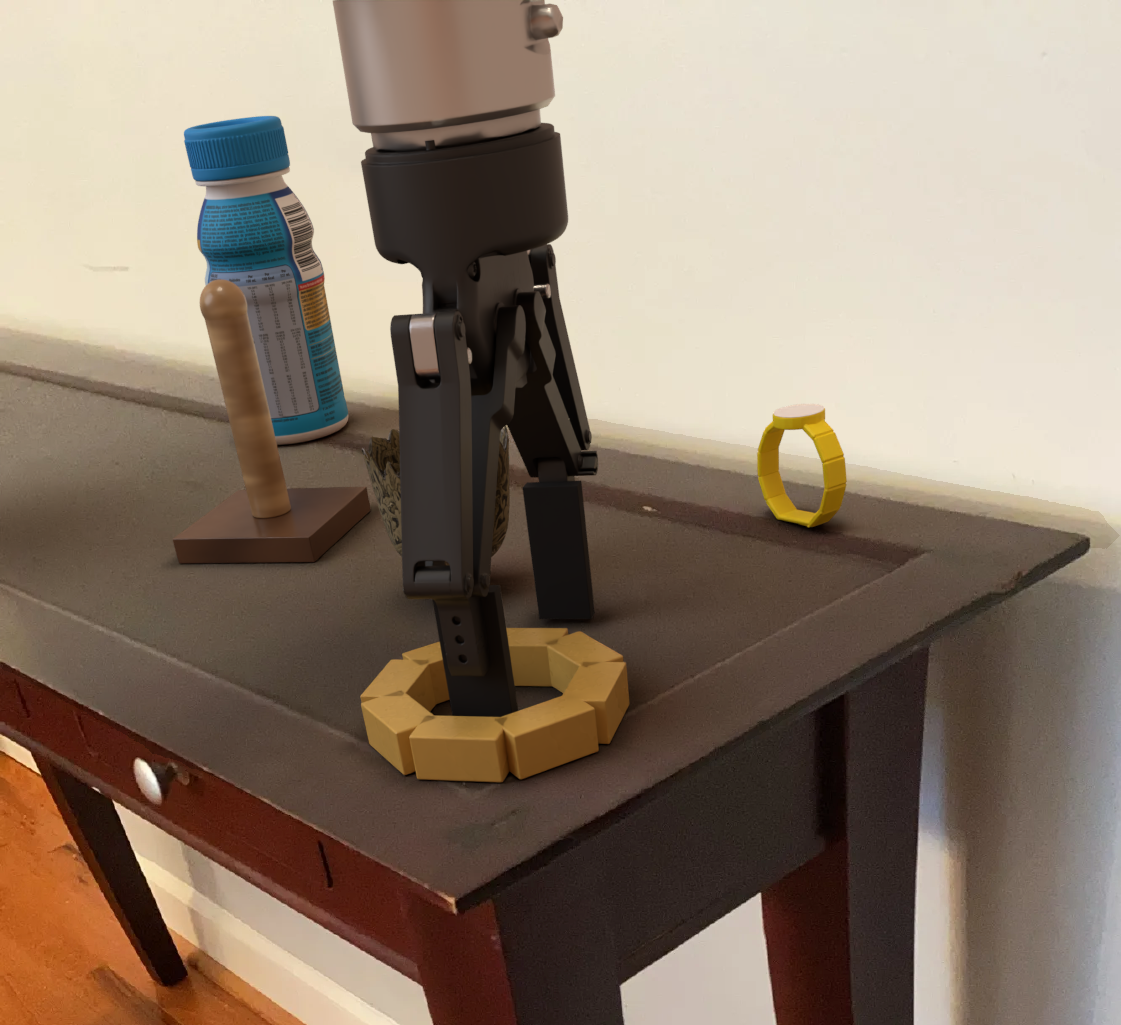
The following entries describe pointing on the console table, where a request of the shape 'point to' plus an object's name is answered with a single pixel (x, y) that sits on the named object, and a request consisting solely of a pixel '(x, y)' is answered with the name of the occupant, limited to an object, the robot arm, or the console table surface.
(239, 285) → the beverage bottle
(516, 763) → the ring
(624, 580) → the console table surface
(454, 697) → the robot arm
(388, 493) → the cup
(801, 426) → the watch
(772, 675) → the console table surface
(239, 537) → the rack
